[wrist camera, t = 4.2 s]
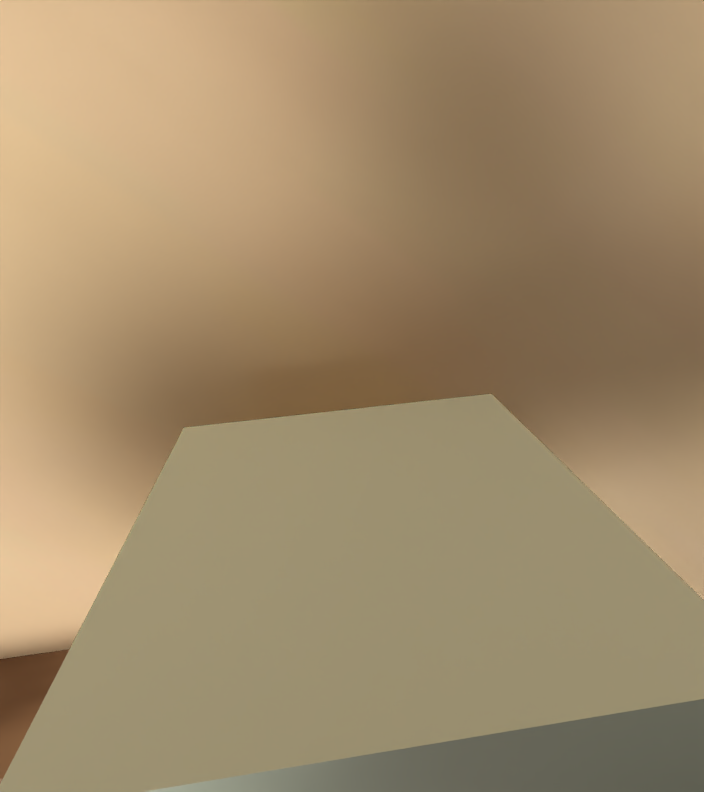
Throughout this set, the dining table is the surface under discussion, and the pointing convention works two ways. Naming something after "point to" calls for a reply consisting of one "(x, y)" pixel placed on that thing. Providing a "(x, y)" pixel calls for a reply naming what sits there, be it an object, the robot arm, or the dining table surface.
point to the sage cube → (376, 623)
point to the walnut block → (23, 697)
